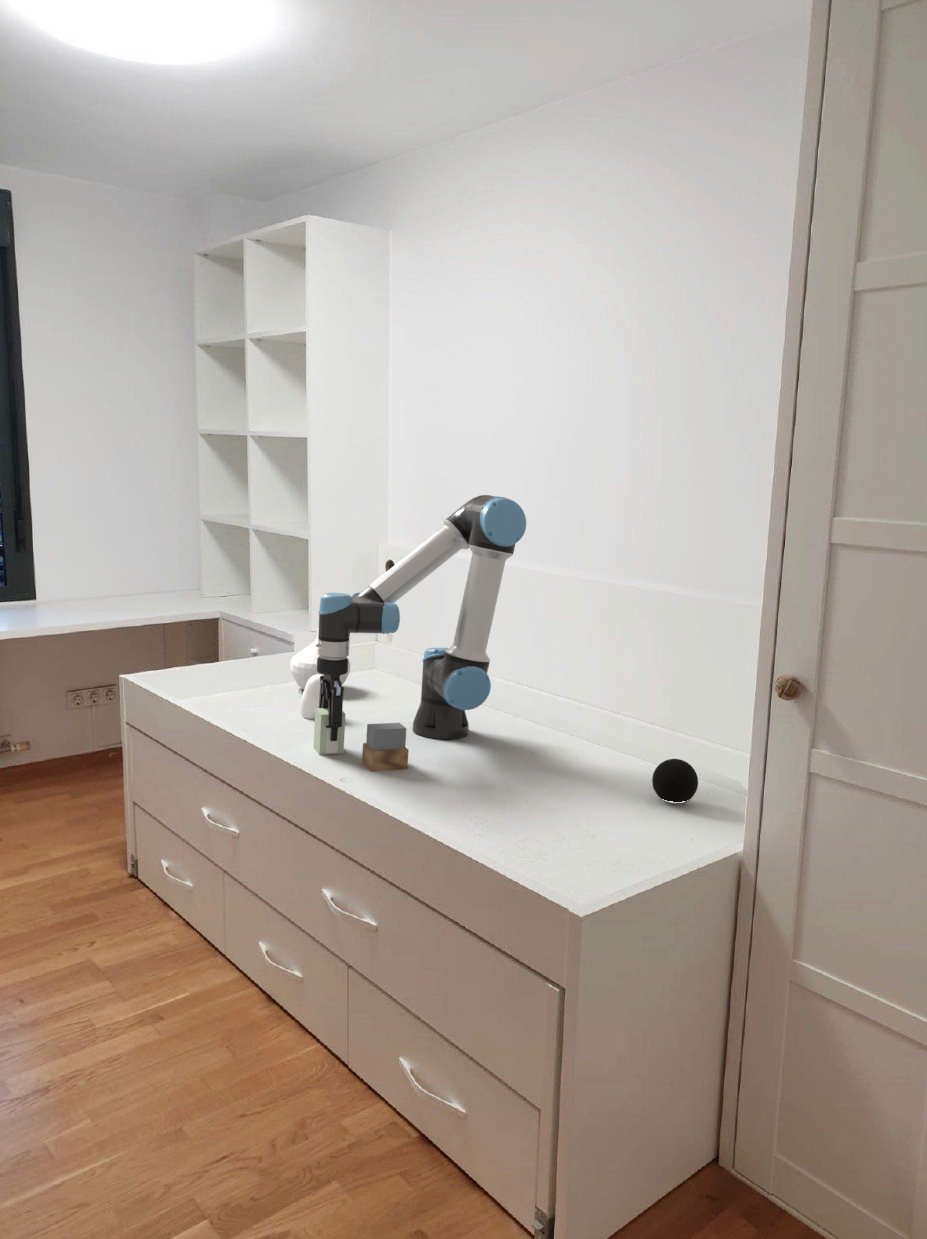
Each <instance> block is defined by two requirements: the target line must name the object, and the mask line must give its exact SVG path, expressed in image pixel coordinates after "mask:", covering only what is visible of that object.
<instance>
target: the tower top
mask: <svg viewBox="0 0 927 1239" xmlns="http://www.w3.org/2000/svg"><path fill="white" fill-rule="evenodd" d="M366 725H367V727H366V742H365V743H366V745H367V746H368V747H369V748H371V749H372V750H373V751H375V750H393V749H405V747H406V741H407V740H406V739H407V727H406V726H404V725H403V724H402V723H401V722H387V723H386V722H384V723H367V724H366Z"/></svg>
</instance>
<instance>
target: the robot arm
mask: <svg viewBox="0 0 927 1239" xmlns="http://www.w3.org/2000/svg"><path fill="white" fill-rule="evenodd" d="M442 525H443V526H442V527H440V528H439V529H438V530H437V531H436V532H434V533H433V534H432V535H431V536H429V537H427V539H426V540H424V541H423V542H422V543H420V545H418V546H417V547H416V548H414V549H413V550H412V551H411V552H409V553H408V554H407V555H405V557H404V558H401V559H400V560H399V561H398V562H397V563H396V564H395V565H394V566H391V568H390V569H388V570H387V571H386V572H385V573H384V574H382V575H381V576H380V577H378V578H377V579H376V580H375V581H373V582H372V583H371V584H369V585H368V587H365V589H363V590H362V591H361V592H355V593H352V594H351V595H350V594H348V593H343V592H324V593H323V594H322V595H321V596H320V599H319V600H320V602H319V610H318V628H319V635H318V643H317V644H316V647H318V655H319V657H318V658H317V672H318V673H320V674H324V676H320V697H319V708H328V714H329V725H328V726H326V728H327V745H326V753H327V754H326V755H332V754H331V753H338V738H339V727H342V711H343V708H344V707H343V704H344V702H343V701H344V700H343V699H344V691H345V688H344V686H342V685H343V684H342V683H341V681H340V676H341V675H344V674H346V673H347V672H348V659H349V658H348V657H349V656H350V636H351V635H350V634H382V635H385V634H394V633H396V632H397V631H398V630H399V627H400V620H401V613H400V608H399V606H398V605H397V603H396V602H397V601H398V600H400V599H401V598H402V597H403V596H404V595H406V594H407V593H408V592H410V591H411V590H412V589H413V588H415V587H416V586H417V585H418V584H419V583H421V582H423V580H424V579H426V578H427V577H428V576H429V575H431V574H432V573H433V572H435V571H436V570H437V569H439V567H441V566H442V565H443V564H445V563H446V562H447V561H449V559H451V558H452V557H453V556H455V555H456V554H457V553H458V552H459V551H461V550H468V549H469V550H470V551H471V554H472V555H471V558H470V562H469V563H470V564H469V568H468V572H467V573H468V574H467V576H466V583H465V587H464V591H463V592H464V593H463V595H462V600H461V606H460V610H459V613H458V618H457V619H458V620H457V625H456V628H455V632H454V633H455V634H454V637H453V644H452V645H451V646H450V647H428V648H426V649H425V650H424V653H423V659H422V674H421V676H422V677H421V691H420V693H421V694H420V695H421V696H420V703H419V705H418V709H417V712H416V714H415V716H414V718H413V721H412V731H413V733H414V734H417V735H419V736H422V737H426V738H430V739H438V740H439V739H442V740H453V739H460V738H461V739H462V738H463V737H466V736H468V735H469V728H470V726H469V721H468V717H467V713H466V711H470V710H474V709H477V708H478V707H480V706H482V705H483V704H484V703H485V702H486V700H487V699H488V697H489V695H490V692H491V688H492V687H491V686H492V684H491V683H492V682H491V679H490V676H489V674H488V671H489V666H490V662H491V659H490V657H489V656H488V654H487V648H488V643H489V640H490V639H489V638H490V634H491V629H492V624H493V620H494V616H495V610H496V606H497V602H498V596H499V592H500V588H501V584H502V578H503V574H504V570H505V564H506V561H507V560H509V558H511V557H512V556H514V552H515V547H516V544H517V543H518V542H519V541H520V540H522V538H523V537H524V534H525V533H526V529H527V518H526V513H525V512H524V509H523V508H522V507H521V505H519V504H518V503H517V502H516V501H514V500H512V499H510V498H508V497H504V496H500V495H499V496H495V495H488V494H481V495H478V496H475V497H472V498H471V499H470V500H468V501H467V502H465V503H464V504H463V505H461V506H460V507H459V508H458V509H457V510H455V512H453V513H451V514H450V516H447V518H446V519H445V520H443V524H442ZM346 657H347V658H346Z"/></svg>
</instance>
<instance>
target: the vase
mask: <svg viewBox="0 0 927 1239" xmlns="http://www.w3.org/2000/svg"><path fill="white" fill-rule="evenodd" d="M316 629H317V631H316V639H315V640H314V641H313V642H311V643H310V644H309V645H307V647H305V648H304V649H302V650H301V651H299V652H298V653H297V654H294V656H293V657H291V659H290V666H289V667H290V671H291V674H292V677H293V680H294V681H295V683H296V684H297V685H298V687H300V688H301V690H303V691H304V690H305V686H306V684H307V682H308V680H309V679H310V678H311V677H312V676H314V675H317V674H320V673H318V672H317V658H318V657H319V655H318V647H316V644H317V643H318V635H319V627H318V628H316ZM346 658H348V656H347V657H346ZM350 672H351V662H350V660H349V658H348V672H347V673H346V674H344V675H341V676H340V681H341V683H342V685H344V683H345V682H346V680H347V678H348V677H349V674H350ZM321 675H324V674H321Z"/></svg>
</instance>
